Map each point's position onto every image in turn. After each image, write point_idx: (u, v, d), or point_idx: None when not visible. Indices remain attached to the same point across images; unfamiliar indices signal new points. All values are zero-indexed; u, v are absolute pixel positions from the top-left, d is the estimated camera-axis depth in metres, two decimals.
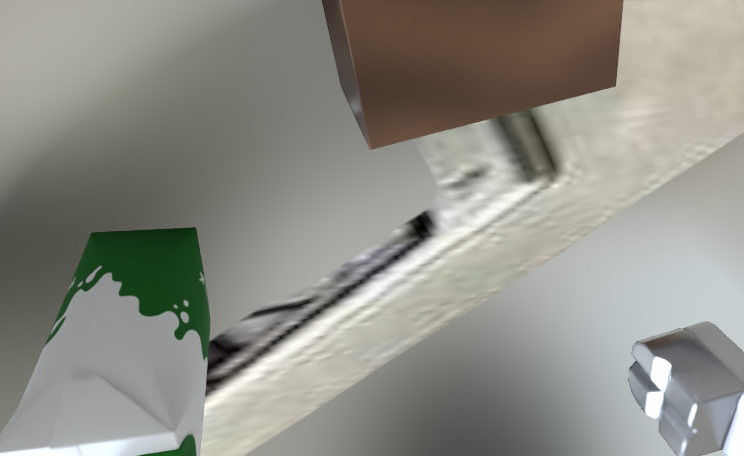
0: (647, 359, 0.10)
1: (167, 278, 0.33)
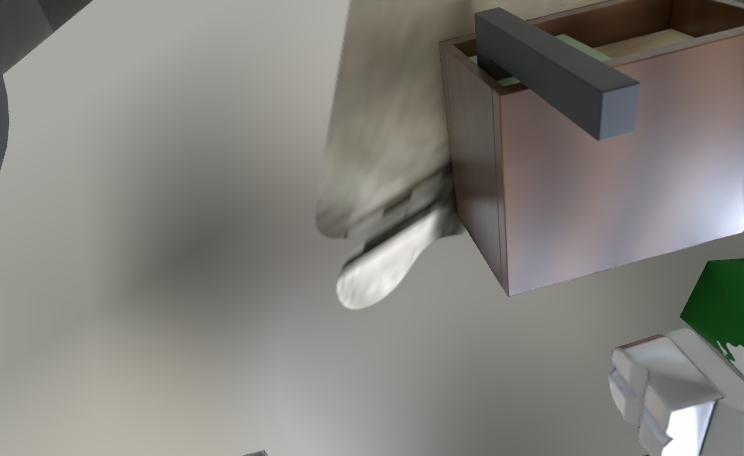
0: (625, 365, 0.10)
1: None
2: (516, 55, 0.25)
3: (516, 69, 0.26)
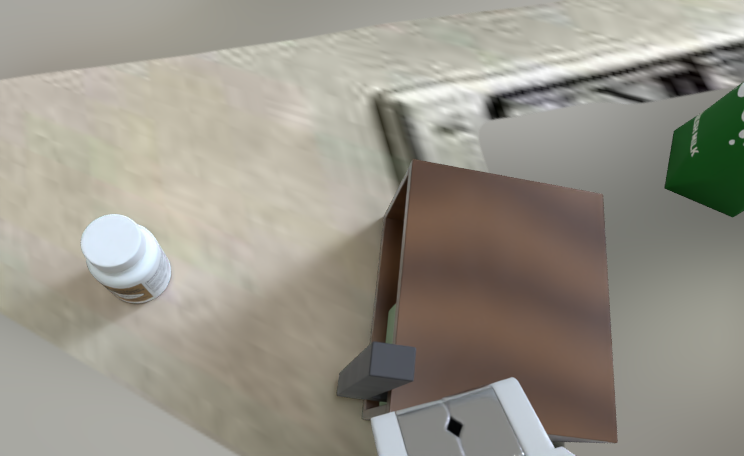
0: None
1: (730, 165, 0.44)
2: (360, 390, 0.30)
3: (372, 392, 0.30)
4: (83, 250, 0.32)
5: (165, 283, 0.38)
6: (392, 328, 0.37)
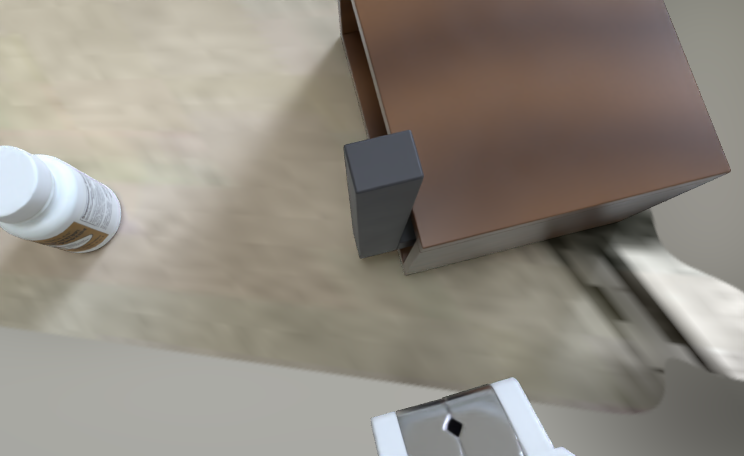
0: None
1: None
2: (376, 235, 0.22)
3: (393, 231, 0.22)
4: None
5: (115, 214, 0.31)
6: None
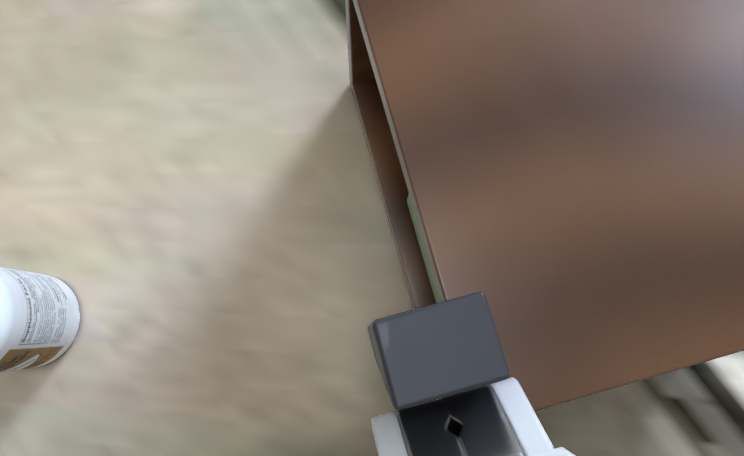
0: None
1: None
2: None
3: None
4: None
5: (71, 320, 0.24)
6: None
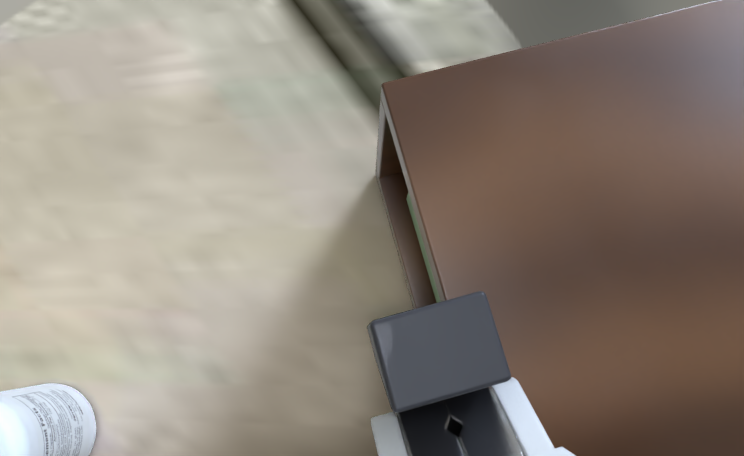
0: None
1: None
2: None
3: None
4: None
5: (88, 436, 0.23)
6: None
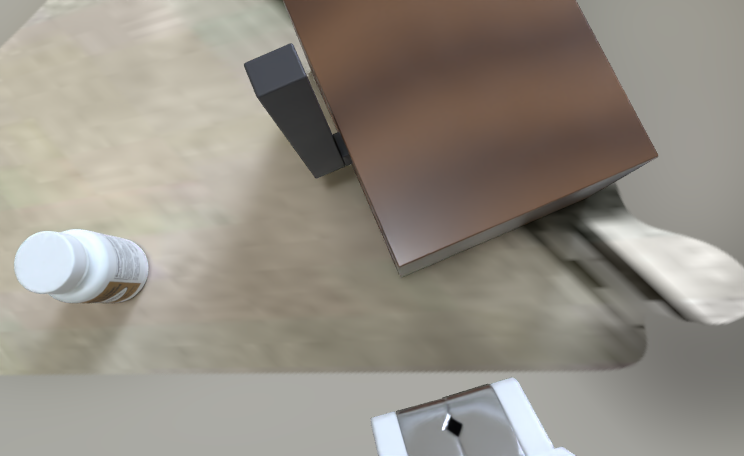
0: None
1: None
2: (310, 147, 0.27)
3: (324, 142, 0.27)
4: (26, 287, 0.29)
5: (143, 265, 0.35)
6: None
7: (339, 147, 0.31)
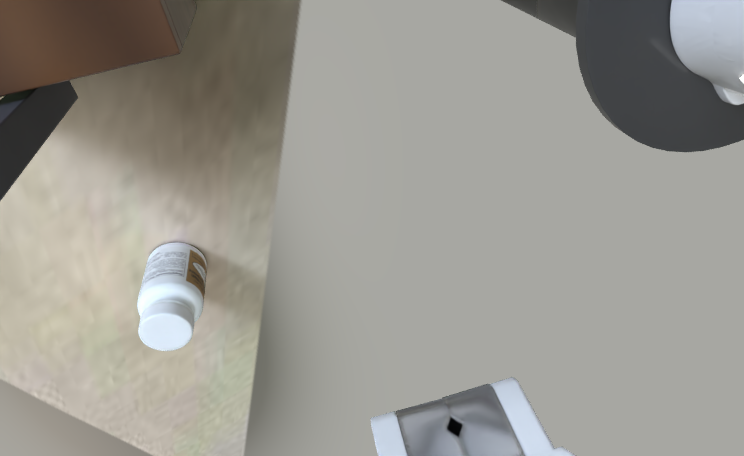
0: None
1: None
2: (39, 124, 0.25)
3: (32, 109, 0.24)
4: (186, 342, 0.36)
5: (173, 247, 0.40)
6: None
7: None
